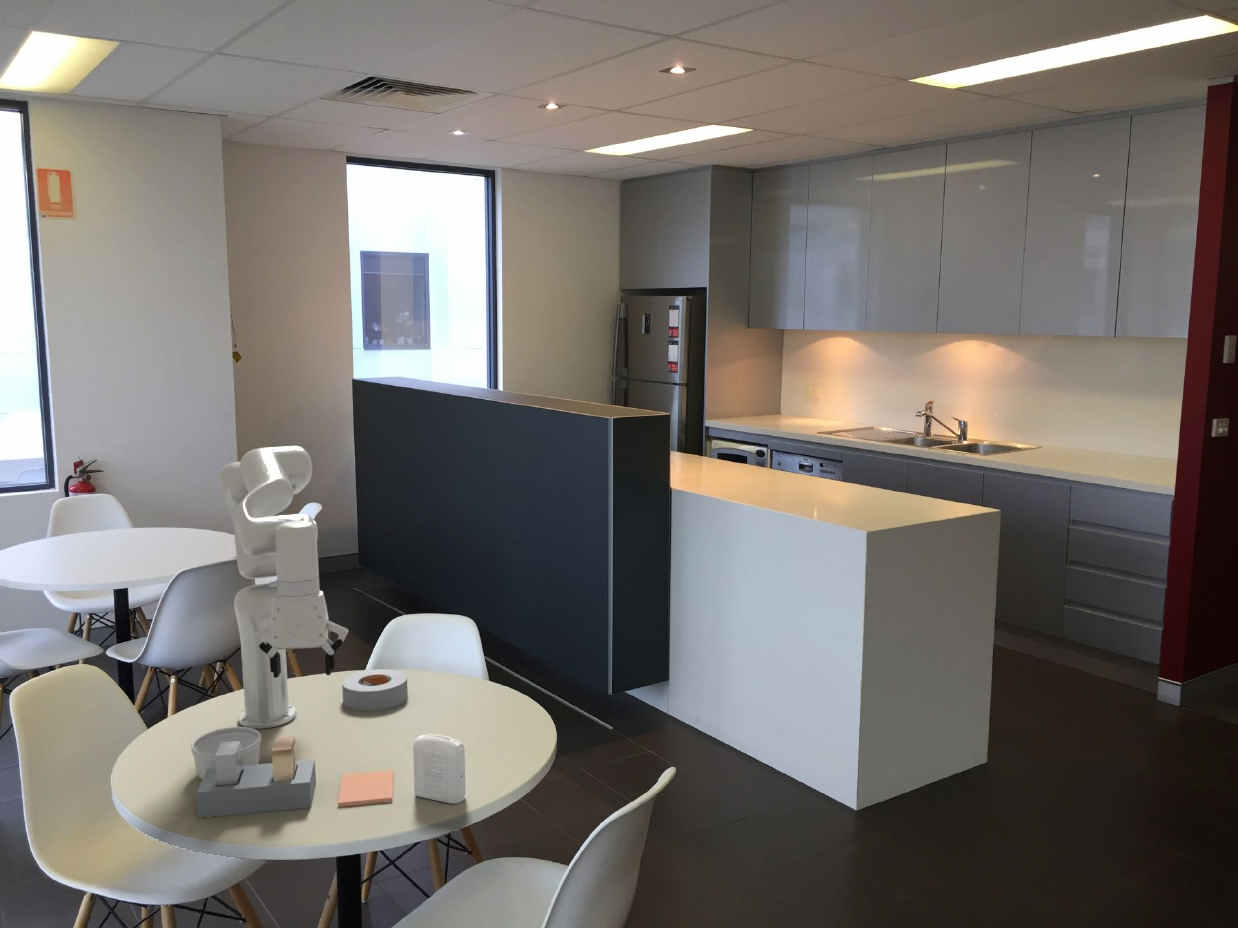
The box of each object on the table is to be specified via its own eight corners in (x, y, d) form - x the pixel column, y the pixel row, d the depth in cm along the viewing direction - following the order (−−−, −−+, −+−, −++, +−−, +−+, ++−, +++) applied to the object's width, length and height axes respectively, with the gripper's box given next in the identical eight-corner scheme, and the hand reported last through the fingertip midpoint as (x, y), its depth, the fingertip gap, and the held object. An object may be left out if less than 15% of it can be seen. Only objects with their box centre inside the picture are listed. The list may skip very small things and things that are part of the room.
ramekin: (234, 791, 194) (232, 757, 193) (178, 782, 198) (176, 749, 197) (276, 762, 206) (274, 730, 205) (223, 754, 210) (220, 723, 209)
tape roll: (343, 691, 246) (342, 671, 245) (406, 685, 250) (406, 666, 249) (342, 714, 231) (341, 694, 231) (409, 708, 235) (408, 687, 234)
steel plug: (224, 796, 192) (221, 742, 190) (244, 794, 192) (240, 740, 191) (219, 811, 186) (215, 755, 184) (238, 809, 187) (235, 753, 185)
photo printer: (469, 796, 191) (467, 735, 189) (457, 806, 187) (455, 744, 185) (423, 787, 195) (421, 727, 193) (411, 797, 191) (408, 736, 189)
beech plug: (279, 791, 194) (276, 737, 192) (297, 789, 194) (294, 736, 193) (275, 805, 188) (271, 750, 186) (294, 803, 189) (291, 748, 187)
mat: (342, 778, 199) (342, 774, 199) (393, 773, 201) (393, 769, 201) (338, 806, 187) (337, 802, 187) (392, 801, 189) (392, 797, 189)
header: (209, 792, 193) (207, 768, 192) (316, 782, 197) (314, 759, 196) (198, 818, 183) (196, 792, 183) (311, 806, 187) (309, 781, 187)
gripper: (246, 594, 182) (251, 683, 185) (342, 590, 184) (346, 678, 187) (256, 583, 190) (261, 669, 192) (348, 580, 192) (352, 665, 194)
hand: (303, 674), depth 189 cm, fingers open, 9 cm apart
